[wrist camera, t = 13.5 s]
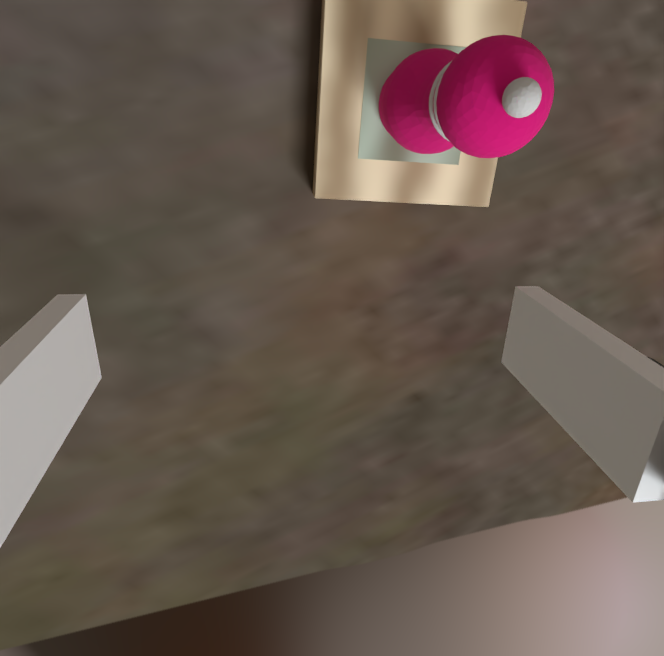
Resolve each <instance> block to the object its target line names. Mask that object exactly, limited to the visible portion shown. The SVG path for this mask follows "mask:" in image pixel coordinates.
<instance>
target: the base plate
mask: <svg viewBox="0 0 664 656" xmlns="http://www.w3.org/2000/svg"><path fill="white" fill-rule="evenodd" d="M526 6H527V2H524V1H515V0H322V14H321V34H320V54H319V74H318V94H317V114H316V134H315V154H314V174H313V195H314V197H315V198H323V199H342V200H362V201H381V202H401V203H420V204H440V205H459V206H479V207H489V201H490V196H491V191H492V186H493V180H494V175H495V170H496V165H497V159H498V157H496V158H478V157H474V156H470V155H467V154H465V153H463V152H461V151H460V150H458V149H457V148H455V147H452V148H451V149H449V150H446V151H444V152H441V153H435V154H420V153H415V152H412V151H410V150H407V149H405V148H404V147H402V146H401V145H400V144H398V143H397V142H396V140H395V139H394V138H393V137H392V136H391V135H390V134H389V133H388V132H387V131H386V129H385V128H384V126H383V124H382V122H381V119H380V114H379V97H380V93H381V90H382V87H383V85H384V83H385V81H386V80H387V78H388V77H389V76H390V75H391V73H392V72H393V71H394V70H395V68H396V67H397V66H398V65H399V64H400V63H401V62H402V61H403V60H404V59H405V58H407V57H408V56H409V55H411V54H413V53H415V52H418V51H421V50H425V49H432V48H442V49H447V50H451V51H453V52H455V53H457V54H459V53H460V52H461V51H462V50H463V49H465V48H466V47H468V46H469V45H470V44H472V43H474V42H476V41H478V40H480V39H482V38H485V37H489V36H495V35H511V36H516V37H520V38H521V33H522V27H523V22H524V17H525V12H526Z"/></svg>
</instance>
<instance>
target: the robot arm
mask: <svg viewBox="0 0 664 656" xmlns="http://www.w3.org/2000/svg"><path fill="white" fill-rule="evenodd" d="M501 362H502V363H503V364H504V366H505V367H506V368H507V369H508V370H509V371H510V372H511V373H512V374H513V375H514V376H515V377H516V378H517V379H518V380H519V382H520V383H521V384H522V385H523V386H524V387H525V388H526V389H527V390H528V391H529V392H530V393H531V394H532V395H533V397H534V398H535V399H536V400H537V401H538V402H539V403H540V404H541V405H542V406H543V407H544V408H545V409H546V410H547V411H548V413H549V414H550V415H551V416H552V417H553V418H554V419H555V420H556V421H557V422H558V423H559V424H560V425H561V426H562V427H563V429H564V430H565V431H566V432H567V433H568V434H569V435H570V436H571V437H572V438H573V439H574V440H575V441H576V442H577V444H578V445H579V446H580V447H581V448H582V449H583V450H584V451H585V452H586V453H587V454H588V455H589V456H590V457H591V458H592V460H593V461H594V462H595V463H596V464H597V465H598V466H599V467H600V468H601V469H602V470H603V471H604V472H605V473H606V474H607V476H608V477H609V478H610V479H611V480H612V481H613V482H614V483H615V484H616V485H617V486H618V487H619V488H620V489H621V490H622V492H623V493H624V494H625V495H626V496H627V497H628V498H629V499H630V500H631V501H632V502H644V501H656V500H664V366H663V365H661V364H660V363H658V362H657V361H655V360H654V359H652V358H649V357H647V356H645V355H643V354H642V353H640V352H639V351H637V350H636V349H634V348H632V347H631V346H629V345H628V344H626V343H625V342H623V341H622V340H620V339H619V338H617V337H616V336H614V335H612V334H611V333H609V332H608V331H606V330H605V329H603V328H602V327H600V326H599V325H597V324H596V323H594V322H592V321H591V320H589V319H588V318H586V317H585V316H583V315H582V314H580V313H579V312H577V311H575V310H574V309H572V308H571V307H569V306H568V305H566V304H565V303H563V302H562V301H560V300H559V299H557V298H555V297H554V296H552V295H551V294H549V293H548V292H546V291H545V290H543V289H542V288H540V287H539V286H517V287H516V288H515V293H514V298H513V303H512V309H511V314H510V319H509V324H508V330H507V335H506V340H505V346H504V351H503V356H502V361H501ZM101 378H102V377H101V372H100V367H99V361H98V356H97V351H96V345H95V340H94V335H93V329H92V324H91V319H90V314H89V308H88V303H87V298H86V294H68V295H57V296H56V297H54V298H53V299H52V300H51V301H50V302H49V303H48V304H47V305H46V306H45V307H44V308H42V309H41V310H40V311H39V312H38V313H37V314H36V315H35V316H34V317H33V318H32V319H30V320H29V321H28V322H27V323H26V324H25V325H24V326H23V327H22V328H21V329H20V330H18V331H17V332H16V333H15V334H14V335H13V336H12V337H11V338H10V339H9V340H7V341H6V342H5V343H4V344H3V345H2V346H1V347H0V547H1V546H2V544H3V542H4V541H5V539H6V537H7V536H8V534H9V532H10V531H11V529H12V527H13V526H14V524H15V522H16V521H17V519H18V517H19V516H20V514H21V512H22V511H23V509H24V507H25V505H26V504H27V502H28V500H29V499H30V497H31V495H32V494H33V492H34V490H35V489H36V487H37V485H38V484H39V482H40V480H41V479H42V477H43V475H44V474H45V472H46V470H47V468H48V467H49V465H50V463H51V462H52V460H53V458H54V457H55V455H56V453H57V452H58V450H59V448H60V447H61V445H62V443H63V442H64V440H65V438H66V437H67V435H68V433H69V432H70V430H71V428H72V426H73V425H74V423H75V421H76V420H77V418H78V416H79V415H80V413H81V411H82V410H83V408H84V406H85V405H86V403H87V401H88V400H89V398H90V396H91V395H92V393H93V391H94V390H95V388H96V386H97V384H98V383H99V381H100V379H101Z"/></svg>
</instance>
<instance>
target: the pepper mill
mask: <svg viewBox="0 0 664 656" xmlns="http://www.w3.org/2000/svg"><path fill="white" fill-rule="evenodd" d="M553 95H554V80H553V75H552V71H551V68H550V66H549V64H548V62H547V60H546V58H545V57H544V55H543V54H542V53H541V51H540V50H539V49H537V48H536V47H535V46H534V45H533V44H532V43H530V42H528V41H526V40H524V39H522V38H520V37H516V36H511V35H495V36H489V37H485V38H482V39H480V40H478V41H476V42H474V43H472V44H470V45H469V46H468V47H466V48H465V49H463V50H462V51H461V52H460V53H459V54H457V53H455V52H453V51H451V50H447V49H442V48H432V49H425V50H421V51H418V52H415V53H413V54H411V55H409V56H408V57H407V58H405V59H404V60H403V61H402V62H401V63H400V64H399V65H398V66H397V67H396V68H395V70H394V71H393V72H392V73H391V75H390V76H389V77H388V78H387V80H386V81H385V83H384V85H383V87H382V90H381V93H380V97H379V114H380V119H381V122H382V124H383V126H384V128H385V129H386V131H387V132H388V133H389V134H390V135H391V136H392V137H393V138H394V139H395V140H396V142H397V143H398V144H400V145H401V146H402V147H404V148H405V149H407V150H410V151H412V152H415V153H420V154H435V153H441V152H444V151H446V150H449V149H451V148H452V147H455V148H457V149H458V150H460V151H461V152H463V153H465V154H467V155H470V156H474V157H478V158H496V157H502V156H505V155H508V154H511V153H513V152H515V151H517V150H519V149H520V148H521V147H523V146H524V145H526V144H527V143H528V142H529V141H530V140H531V139H532V138H533V137H534V136H535V135H536V134H537V133H538V132H539V130H540V129H541V128H542V126H543V125H544V123H545V121H546V119H547V117H548V114H549V111H550V108H551V105H552V102H553Z"/></svg>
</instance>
